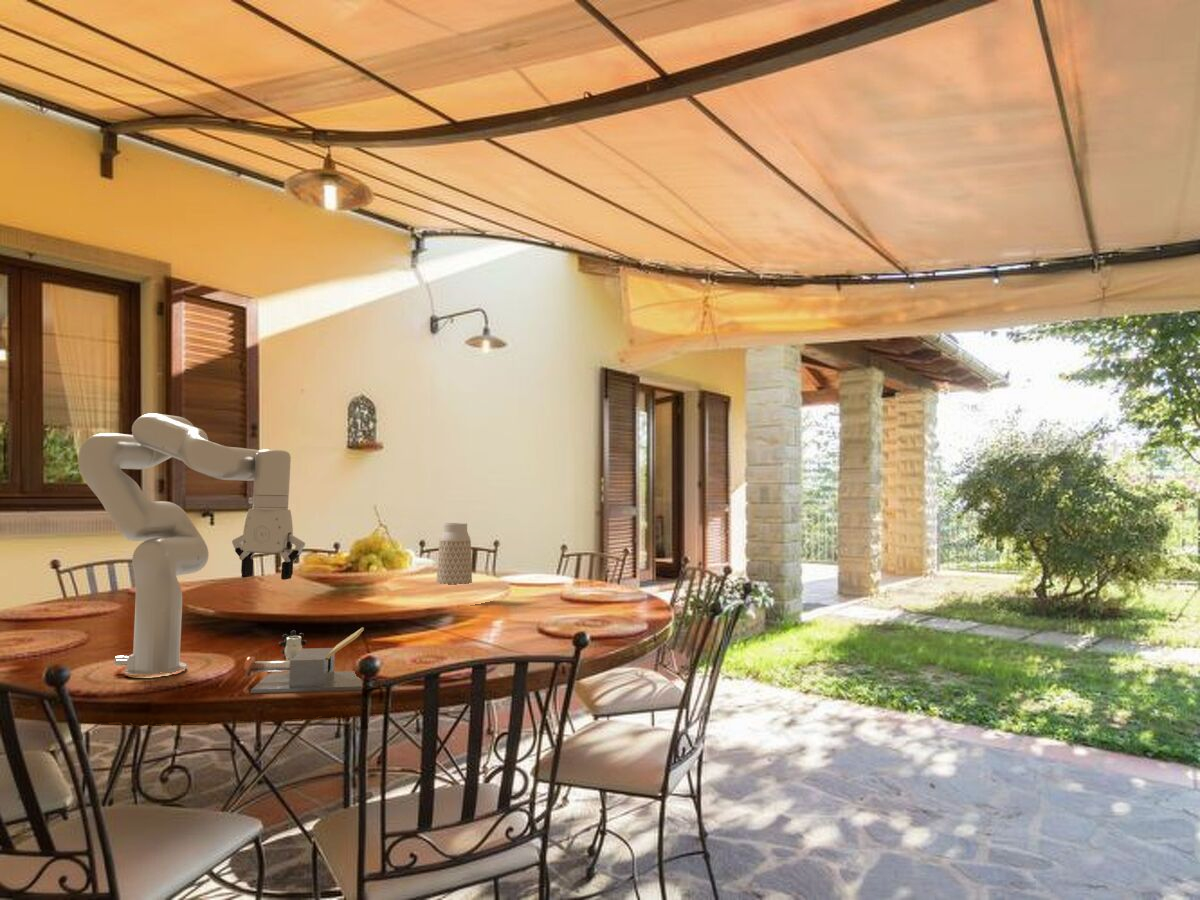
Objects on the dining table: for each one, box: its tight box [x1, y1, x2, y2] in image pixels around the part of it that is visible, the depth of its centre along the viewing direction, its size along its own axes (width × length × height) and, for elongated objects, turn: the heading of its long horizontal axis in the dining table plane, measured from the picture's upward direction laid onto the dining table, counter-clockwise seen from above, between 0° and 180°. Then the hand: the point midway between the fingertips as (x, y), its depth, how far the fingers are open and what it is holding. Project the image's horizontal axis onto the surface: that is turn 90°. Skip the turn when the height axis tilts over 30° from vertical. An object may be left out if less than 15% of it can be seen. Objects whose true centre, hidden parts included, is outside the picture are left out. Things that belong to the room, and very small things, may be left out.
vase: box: [435, 522, 473, 585], centre depth 287 cm, size 14×14×31 cm
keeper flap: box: [326, 626, 365, 660], centre depth 165 cm, size 8×10×1 cm
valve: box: [278, 629, 307, 661], centre depth 186 cm, size 7×7×12 cm
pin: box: [243, 655, 290, 678], centre depth 163 cm, size 14×4×4 cm, turn 99°
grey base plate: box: [250, 647, 363, 694], centre depth 164 cm, size 23×14×6 cm, turn 99°
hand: (266, 578), depth 167 cm, fingers open, 9 cm apart
